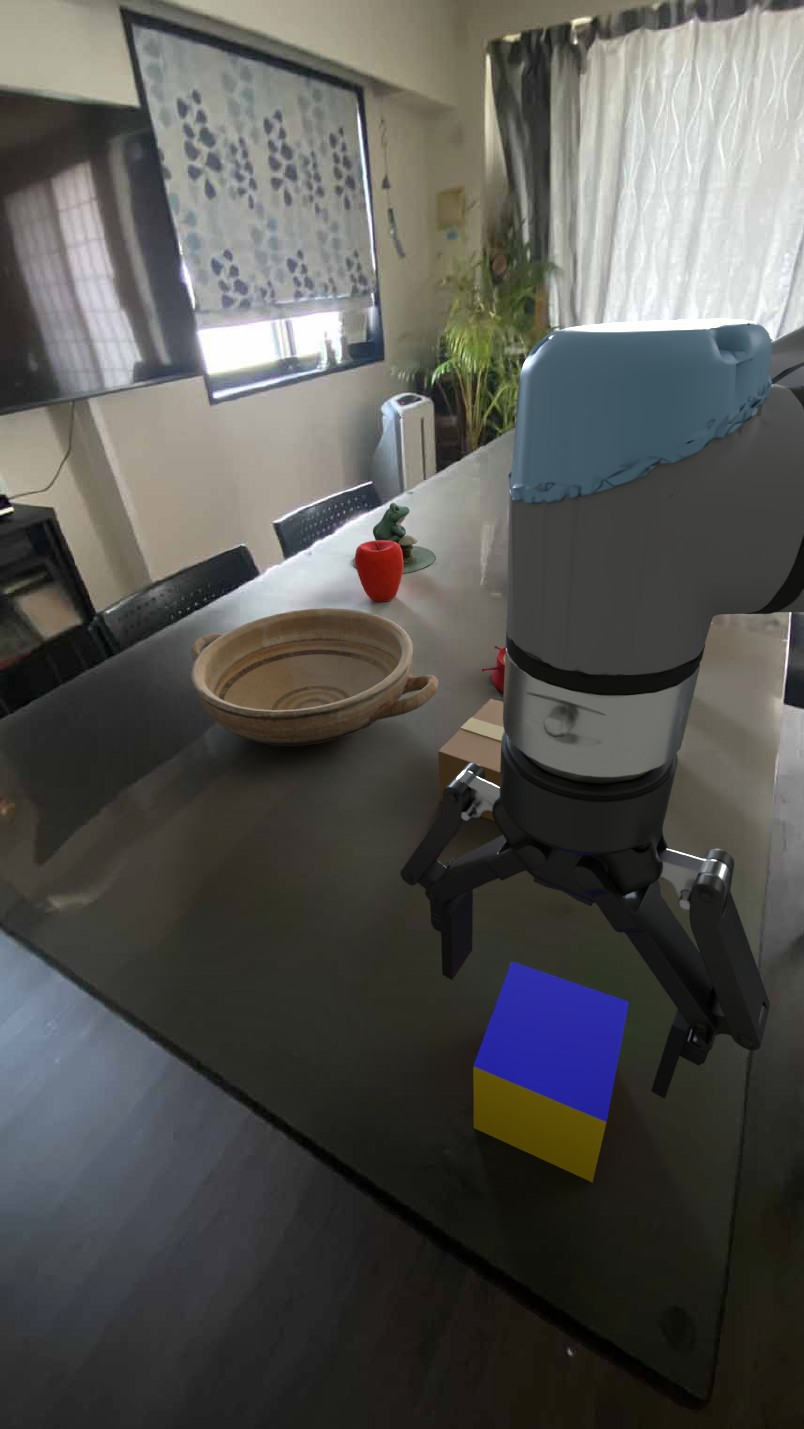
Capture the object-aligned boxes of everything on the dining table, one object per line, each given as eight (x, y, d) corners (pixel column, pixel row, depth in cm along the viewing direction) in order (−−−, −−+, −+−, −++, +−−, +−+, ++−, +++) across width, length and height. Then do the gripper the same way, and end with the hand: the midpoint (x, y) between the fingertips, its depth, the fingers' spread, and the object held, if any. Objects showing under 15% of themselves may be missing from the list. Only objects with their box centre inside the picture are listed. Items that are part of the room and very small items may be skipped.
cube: (592, 1182, 41) (606, 1122, 36) (473, 1127, 44) (473, 1066, 39) (614, 1065, 47) (628, 1001, 42) (508, 1025, 50) (511, 961, 45)
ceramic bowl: (478, 691, 91) (478, 628, 85) (383, 819, 70) (376, 745, 65) (269, 650, 106) (258, 593, 101) (140, 744, 85) (117, 679, 80)
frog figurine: (445, 567, 133) (444, 510, 126) (361, 579, 130) (355, 523, 123) (423, 541, 147) (420, 489, 141) (346, 552, 144) (340, 500, 138)
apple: (398, 585, 126) (394, 531, 120) (411, 601, 119) (408, 544, 113) (354, 593, 124) (348, 538, 118) (366, 610, 117) (360, 553, 111)
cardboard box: (599, 781, 73) (606, 730, 69) (557, 846, 65) (562, 793, 61) (490, 745, 80) (490, 697, 76) (439, 800, 72) (437, 750, 68)
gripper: (316, 700, 32) (357, 964, 43) (942, 917, 19) (762, 1205, 31) (402, 639, 37) (417, 890, 48) (942, 780, 24) (787, 1072, 36)
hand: (552, 1013), depth 40 cm, fingers open, 13 cm apart
